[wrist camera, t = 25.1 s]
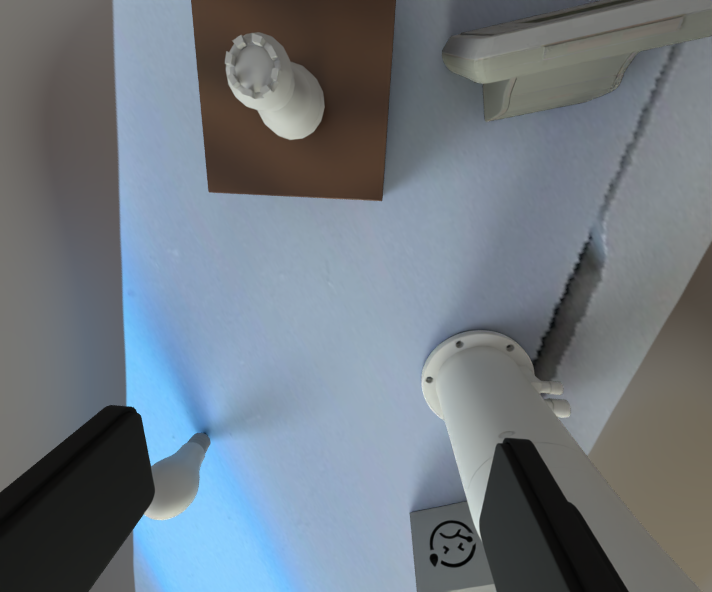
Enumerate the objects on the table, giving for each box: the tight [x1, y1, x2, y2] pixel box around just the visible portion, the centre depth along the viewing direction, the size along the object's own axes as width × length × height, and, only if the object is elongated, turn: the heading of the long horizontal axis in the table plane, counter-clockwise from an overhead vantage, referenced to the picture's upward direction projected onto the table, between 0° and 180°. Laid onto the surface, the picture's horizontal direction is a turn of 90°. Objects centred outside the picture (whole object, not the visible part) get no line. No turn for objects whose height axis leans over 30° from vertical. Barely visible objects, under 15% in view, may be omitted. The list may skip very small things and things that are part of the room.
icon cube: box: [410, 501, 497, 592], centre depth 43 cm, size 10×10×10 cm
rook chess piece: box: [225, 32, 325, 140], centre depth 19 cm, size 4×4×8 cm
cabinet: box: [191, 0, 396, 201], centre depth 27 cm, size 14×13×10 cm
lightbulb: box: [144, 433, 210, 520], centre depth 40 cm, size 6×6×11 cm
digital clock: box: [442, 0, 712, 122], centre depth 24 cm, size 16×9×11 cm, turn 89°
